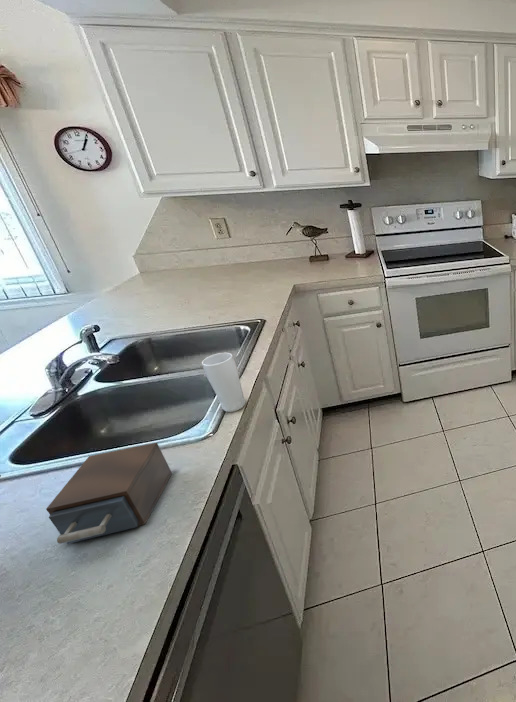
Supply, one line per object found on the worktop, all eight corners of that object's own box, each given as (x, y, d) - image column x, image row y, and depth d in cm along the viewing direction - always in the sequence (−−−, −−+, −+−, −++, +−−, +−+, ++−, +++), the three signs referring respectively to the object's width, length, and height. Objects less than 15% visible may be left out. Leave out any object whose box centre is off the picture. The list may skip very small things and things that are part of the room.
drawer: (127, 545, 72) (110, 518, 69) (53, 563, 70) (33, 536, 67) (163, 478, 87) (150, 453, 84) (103, 491, 84) (88, 466, 81)
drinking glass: (254, 402, 112) (238, 355, 106) (231, 417, 106) (212, 367, 100) (238, 397, 115) (221, 350, 108) (214, 411, 109) (195, 362, 103)
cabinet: (145, 524, 77) (126, 491, 74) (69, 542, 74) (45, 509, 70) (172, 473, 89) (157, 442, 85) (107, 487, 86) (89, 456, 82)
